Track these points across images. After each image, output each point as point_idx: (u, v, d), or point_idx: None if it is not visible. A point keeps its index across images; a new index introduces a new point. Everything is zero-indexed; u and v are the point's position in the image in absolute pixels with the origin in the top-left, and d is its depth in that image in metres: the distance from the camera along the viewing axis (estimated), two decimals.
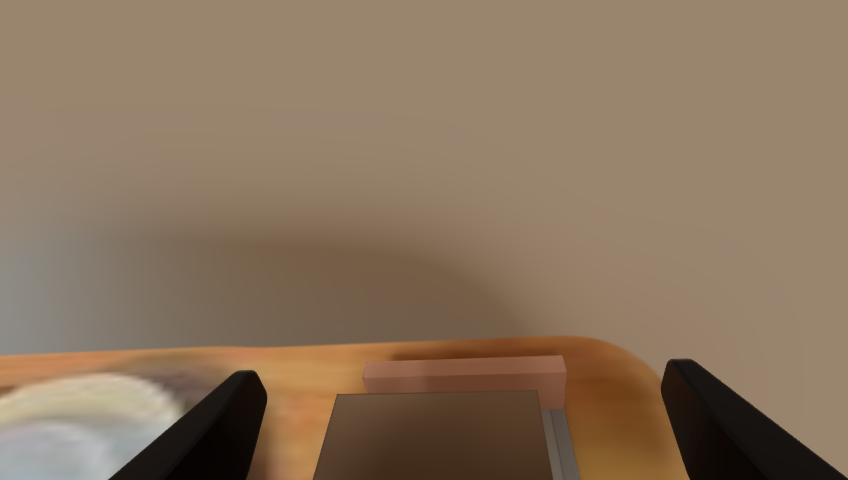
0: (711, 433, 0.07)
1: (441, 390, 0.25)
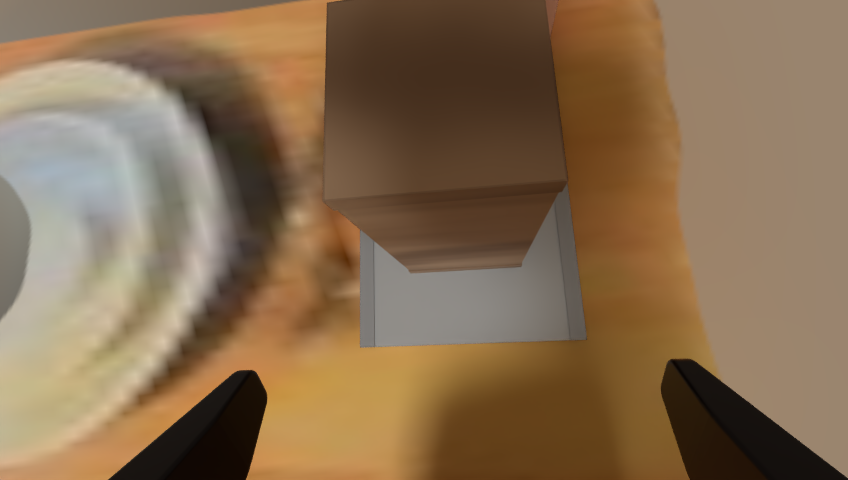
0: (711, 433, 0.07)
1: None
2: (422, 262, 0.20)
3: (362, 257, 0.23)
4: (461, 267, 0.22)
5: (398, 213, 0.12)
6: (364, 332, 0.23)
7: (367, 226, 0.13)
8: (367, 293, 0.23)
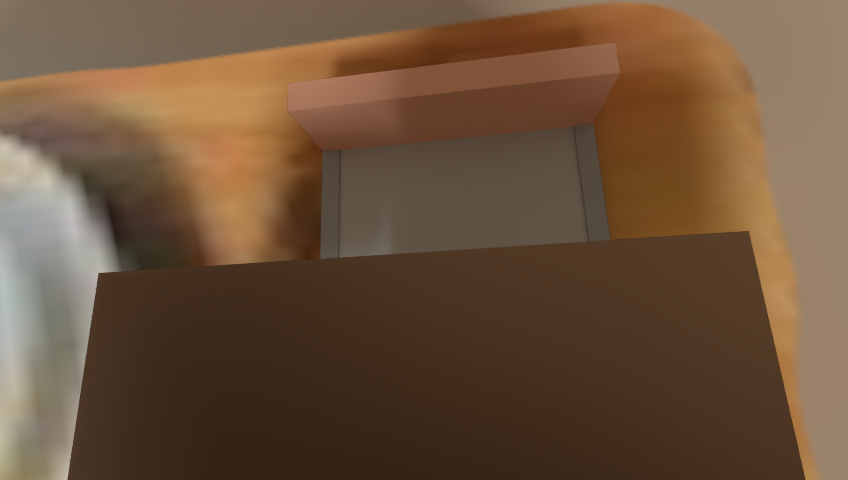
0: None
1: (414, 117, 0.16)
2: None
3: None
4: None
5: None
6: None
7: None
8: None
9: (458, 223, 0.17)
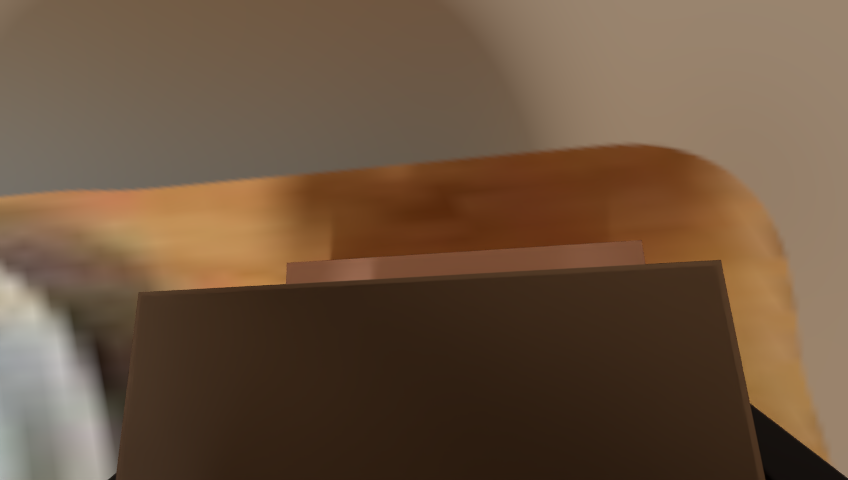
0: None
1: None
2: None
3: None
4: None
5: None
6: None
7: None
8: None
9: None
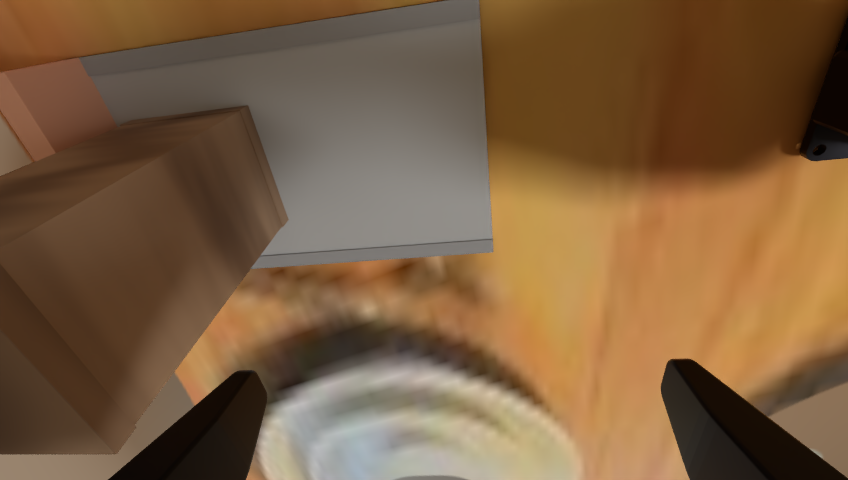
0: (711, 433, 0.07)
1: None
2: (256, 231, 0.19)
3: (401, 256, 0.23)
4: (262, 176, 0.20)
5: (126, 364, 0.12)
6: (478, 249, 0.22)
7: (170, 363, 0.13)
8: (438, 248, 0.22)
9: None
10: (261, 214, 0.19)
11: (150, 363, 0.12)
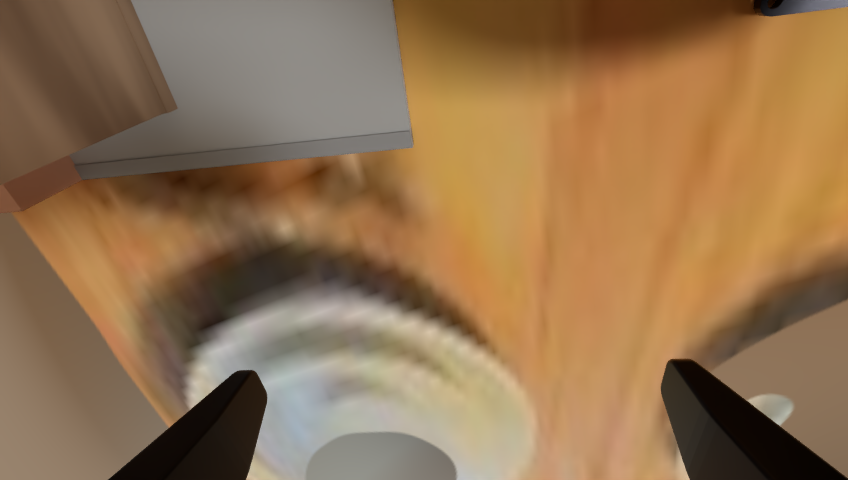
0: (711, 433, 0.07)
1: None
2: (119, 100, 0.16)
3: (310, 154, 0.20)
4: (133, 43, 0.17)
5: None
6: (395, 144, 0.19)
7: None
8: (351, 144, 0.19)
9: None
10: (129, 85, 0.17)
11: None
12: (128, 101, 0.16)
